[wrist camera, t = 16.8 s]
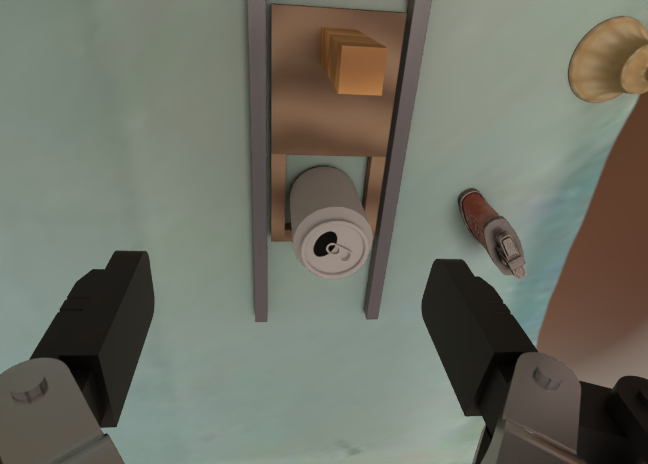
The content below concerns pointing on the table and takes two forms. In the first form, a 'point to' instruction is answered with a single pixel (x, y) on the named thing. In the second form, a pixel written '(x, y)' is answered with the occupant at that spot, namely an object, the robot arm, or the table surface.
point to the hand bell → (611, 61)
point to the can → (328, 223)
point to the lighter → (492, 233)
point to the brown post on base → (332, 93)
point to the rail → (394, 156)
